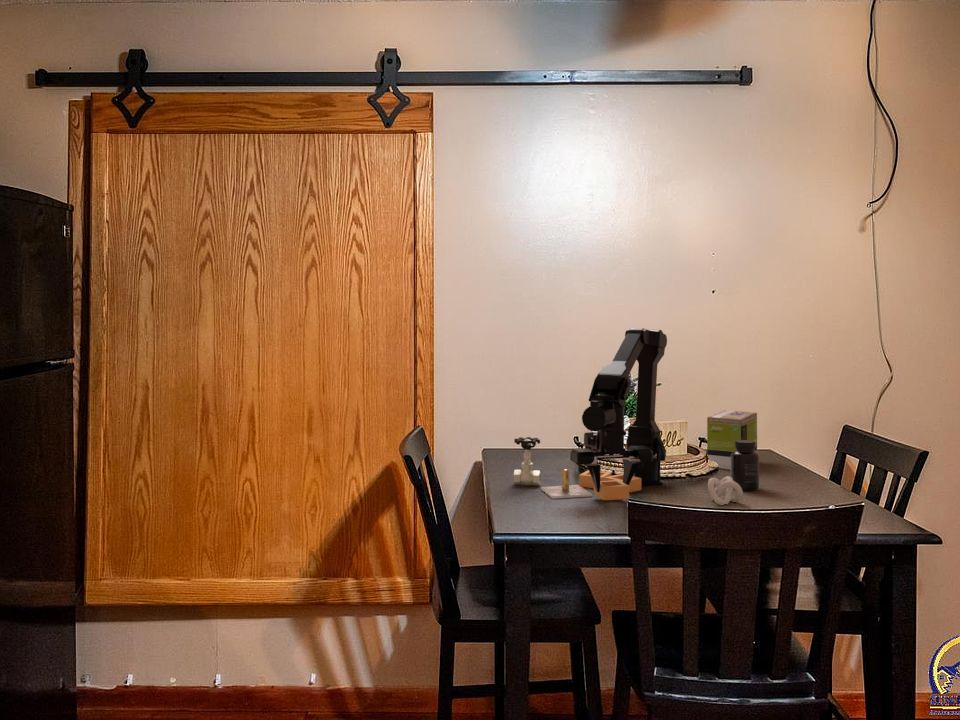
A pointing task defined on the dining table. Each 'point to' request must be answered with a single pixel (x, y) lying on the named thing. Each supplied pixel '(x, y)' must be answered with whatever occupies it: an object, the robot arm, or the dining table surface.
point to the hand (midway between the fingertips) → (611, 490)
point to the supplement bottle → (745, 465)
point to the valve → (527, 464)
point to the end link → (612, 490)
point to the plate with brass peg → (565, 489)
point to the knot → (724, 490)
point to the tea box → (729, 434)
